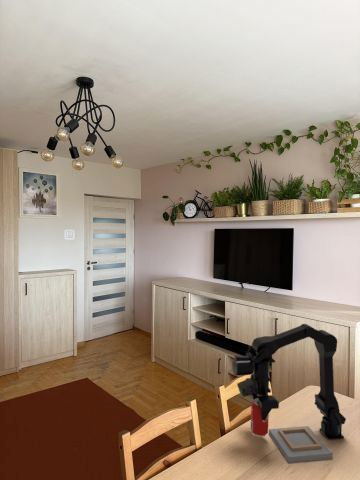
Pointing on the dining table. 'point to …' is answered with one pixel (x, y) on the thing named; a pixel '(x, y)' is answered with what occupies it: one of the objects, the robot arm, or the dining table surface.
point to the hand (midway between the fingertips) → (260, 415)
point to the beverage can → (258, 420)
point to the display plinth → (299, 444)
